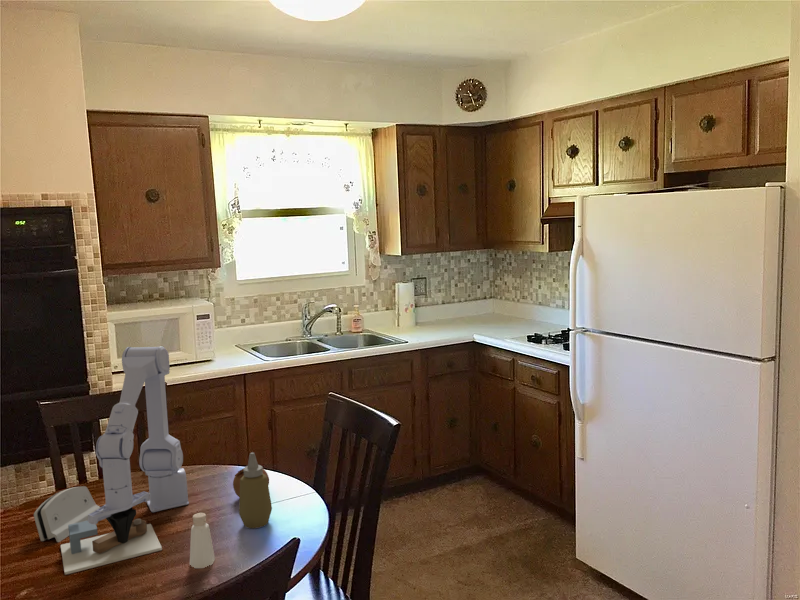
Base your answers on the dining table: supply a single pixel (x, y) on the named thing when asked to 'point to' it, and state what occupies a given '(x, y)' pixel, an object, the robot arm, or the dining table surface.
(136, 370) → the robot arm
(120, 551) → the keeper board
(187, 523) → the dining table surface
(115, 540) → the link arm
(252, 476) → the squeeze bottle
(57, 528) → the white rounded block
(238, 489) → the onion
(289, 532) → the dining table surface
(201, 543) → the pepper shaker
